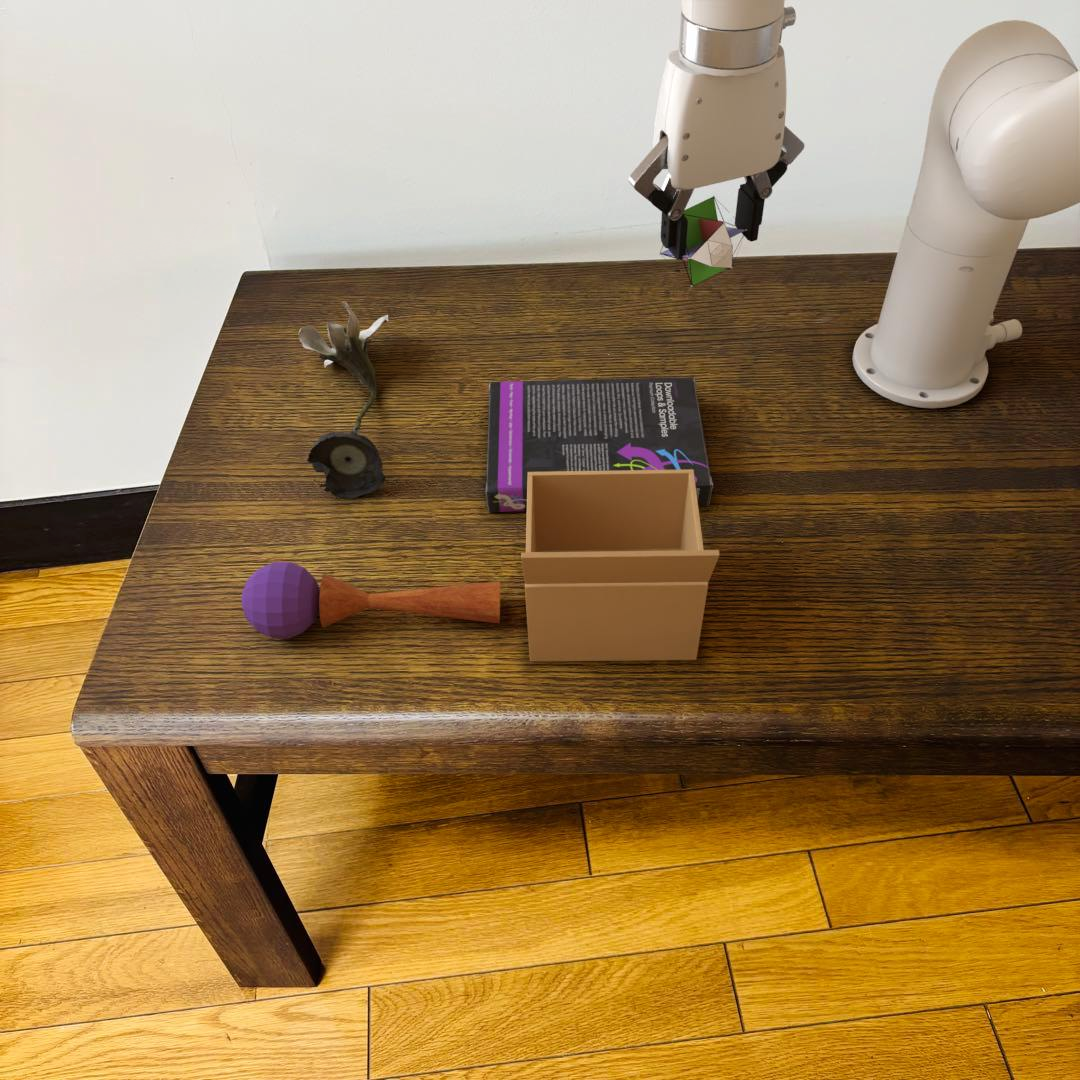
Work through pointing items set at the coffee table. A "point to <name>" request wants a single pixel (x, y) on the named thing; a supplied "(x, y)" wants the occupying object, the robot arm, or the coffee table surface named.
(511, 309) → the coffee table surface
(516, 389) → the box
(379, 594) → the kendama
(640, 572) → the flap
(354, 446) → the artificial flower
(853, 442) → the coffee table surface
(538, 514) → the carton
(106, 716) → the coffee table surface
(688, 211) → the geometric puzzle
